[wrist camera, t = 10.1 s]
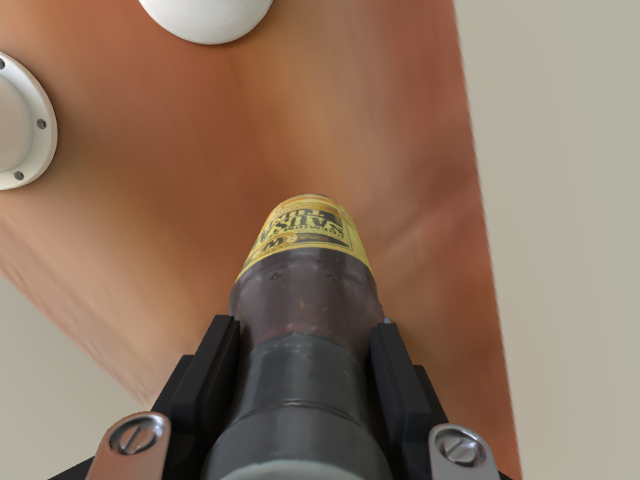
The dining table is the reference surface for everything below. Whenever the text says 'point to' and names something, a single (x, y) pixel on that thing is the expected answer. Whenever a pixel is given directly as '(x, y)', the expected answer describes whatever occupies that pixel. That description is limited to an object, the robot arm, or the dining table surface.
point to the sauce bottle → (302, 353)
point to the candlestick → (207, 18)
